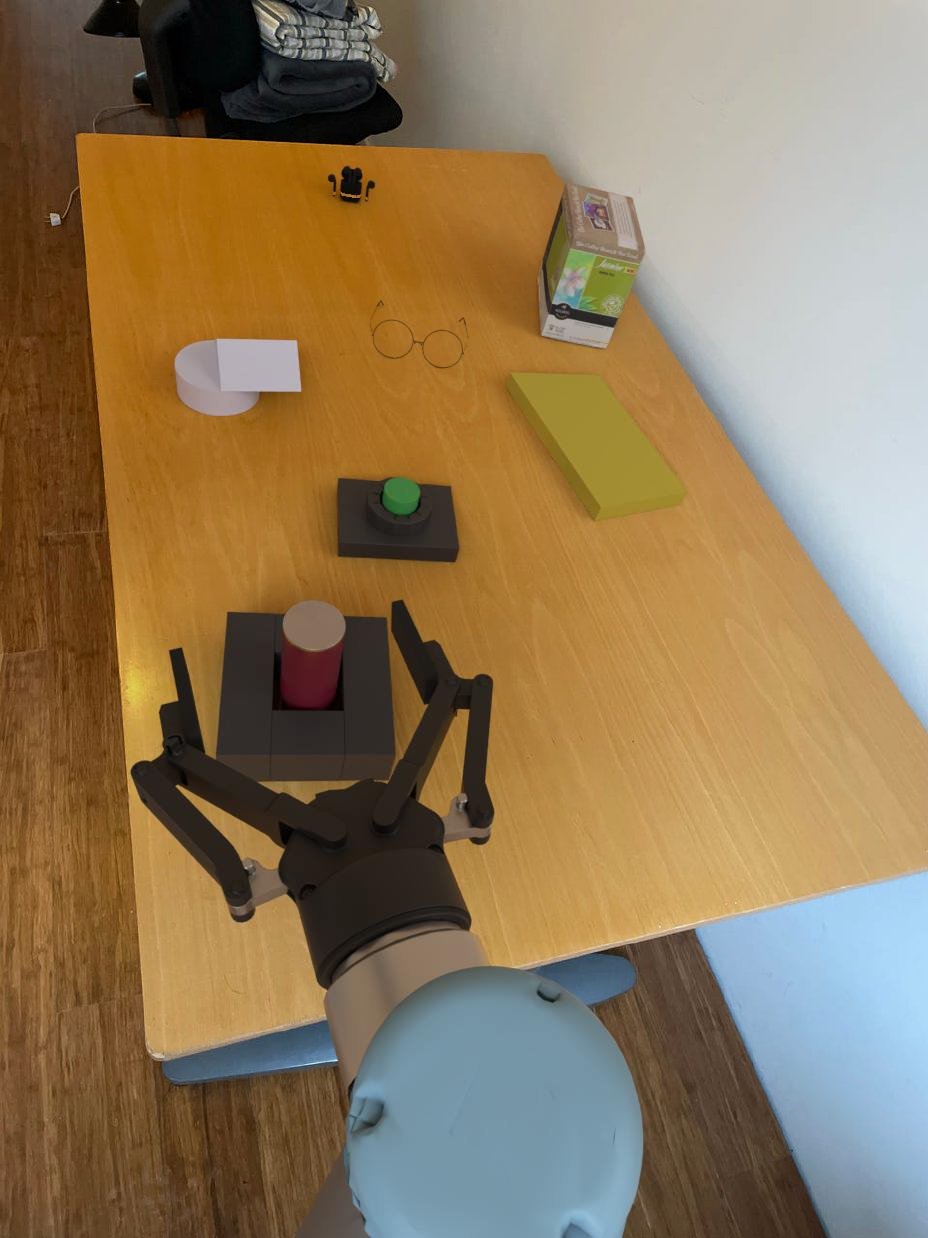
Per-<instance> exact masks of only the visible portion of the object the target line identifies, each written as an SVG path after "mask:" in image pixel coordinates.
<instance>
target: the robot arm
mask: <svg viewBox="0 0 928 1238" xmlns="http://www.w3.org/2000/svg"><path fill="white" fill-rule="evenodd" d="M390 603H391V606H390V607H391V609H390V611H391V613H390V614H391V617H390V624H391V625H390V631H391V634H392V636H393V639H394V641H395V643H396V646H397V647H398V650H399V652H400V654H401V656H402V659H403V661H404V663H405V666H406V668H407V670H408V673H409V674H410V677H411V679H412V682H413V684H414V686H415V688H416V690H417V692H418V695H419V697H420V699H421V701H422V703H423V705H424V706H426V705H427V706H426V708H425V709H424V712H423V714H422V717H421V718H420V721H419V723H418V725H417V727H416V729H415V731H414V733H413V735H412V737H411V740H410V741H409V744H408V746H407V747H406V750H405V752H404V754H403V756H402V758H399V760H398V761H397V763H396V765H395V767H394V769H393V772H392V774H391V775H390V777H389V780H388V782H384V781H378V780H374V779H373V778H369V779H366V780H358V781H357V782H355V783H354V784H351V785H350V786H348V787H345V788H339V789H337V788H336V789H335V788H334V789H327V790H324V791H320V792H317V793H314V799H312V800H310V801H309V802H308V803H305V802H304V801H301V800H299V798H296V797H295V796H292V795H290V794H289V793H287V792H285V791H280V792H279V793H278V792H276V791H274V790H272V789H271V788H269V787H267V786H266V785H263V784H262V783H261V782H256V781H254V780H252V779H250V778H249V777H247V776H245V775H243V774H241V773H239V772H238V771H236V770H234V769H232V768H230V767H228V766H227V765H225V764H223V763H221V762H219V761H217V760H216V758H214V757H212V756H210V755H209V754H207V753H206V748H205V744H204V739H203V734H202V730H201V725H200V720H199V715H198V710H197V706H196V701H195V695H194V690H193V686H192V682H191V681H192V680H191V677H190V672H189V669H188V665H187V661H186V657H185V653H184V649H183V646H182V647H175V648H172V649H168V654H169V658H170V664H171V669H172V674H173V675H172V676H173V680H174V685H175V690H176V691H175V692H176V695H177V696H176V697H177V700H175V701H171V702H167V703H161V704H160V708H159V711H158V716H159V723H160V728H161V734H162V743H161V745H162V749H163V751H162V752H161V754H159V756H157V757H156V758H153V759H152V760H146V759H143V760H139V761H137V762H135V763H134V764H133V765H132V766H131V768H130V772H129V773H130V777H131V779H132V782H133V784H134V787H135V790H136V792H137V795H138V797H139V799H140V801H141V803H142V805H144V806H145V807H146V808H147V809H148V810H149V812H150V813H151V814H152V815H153V816H154V817H155V818H156V819H157V820H158V821H159V822H160V823H161V824H162V826H164V828H166V830H167V831H168V832H169V833H170V834H171V835H172V836H173V838H175V839H176V840H177V842H178V843H180V846H182V847H183V848H184V849H185V850H186V851H187V852H188V854H190V855H191V857H192V858H193V859H194V860H195V861H196V863H198V864H199V865H200V866H201V867H202V868H203V869H204V870H205V872H206V873H207V874H208V875H209V876H210V877H211V878H212V879H213V880H214V882H216V883H217V884H218V885H219V887H220V888H221V891H222V894H223V897H224V900H225V903H226V906H227V909H228V912H229V915H230V917H231V919H232V920H233V921H234V922H236V923H242V924H243V923H247V922H248V921H250V920H252V918H253V917H254V916H255V915H256V911H257V910H256V908H257V907H259V906H261V905H263V904H266V903H268V902H270V901H273V900H275V899H278V898H280V897H282V896H284V895H286V896H287V897H288V898H290V899H291V900H292V901H293V903H294V905H295V906H296V908H297V910H298V914H299V918H300V922H301V926H302V929H303V933H304V938H305V941H306V944H307V948H308V952H309V953H308V954H309V956H310V960H311V964H312V968H313V972H314V976H315V979H316V982H317V984H318V985H319V986H320V987H321V988H322V989H324V990H326V992H325V994H324V997H323V1000H322V1004H323V1009H324V1013H325V1017H326V1021H327V1025H328V1028H329V1033H330V1037H331V1042H332V1044H333V1048H334V1052H335V1056H336V1061H337V1063H338V1067H339V1072H340V1075H341V1079H342V1084H343V1087H344V1091H345V1094H346V1096H347V1098H348V1102H349V1110H348V1113H347V1115H346V1118H345V1133H346V1137H345V1138H346V1141H345V1143H344V1144H343V1146H342V1148H341V1151H340V1152H339V1154H338V1156H337V1158H336V1160H335V1162H334V1164H333V1165H332V1167H331V1170H330V1171H329V1173H328V1174H327V1177H326V1178H325V1180H324V1182H323V1184H322V1186H321V1187H320V1189H319V1191H318V1193H317V1195H316V1197H315V1199H314V1200H313V1202H312V1204H311V1206H310V1209H309V1210H308V1212H307V1213H306V1215H305V1217H304V1219H303V1221H302V1223H301V1224H300V1226H299V1228H298V1230H297V1232H296V1234H295V1235H294V1238H623V1235H624V1231H625V1226H626V1223H627V1218H628V1217H629V1213H630V1211H631V1209H632V1207H633V1204H634V1201H635V1198H636V1197H637V1194H638V1193H637V1192H638V1188H639V1183H640V1178H641V1173H642V1166H643V1156H644V1128H643V1127H644V1126H643V1117H642V1115H643V1114H642V1110H641V1105H640V1101H639V1094H638V1092H637V1088H636V1085H635V1081H634V1079H633V1075H632V1073H631V1070H630V1067H629V1065H628V1063H627V1061H626V1059H625V1058H626V1057H625V1056H624V1054H623V1053H622V1051H621V1049H620V1047H619V1045H618V1043H617V1041H616V1040H615V1038H614V1036H612V1034H611V1032H610V1031H609V1030H608V1029H607V1027H606V1026H605V1025H604V1023H603V1022H602V1021H601V1020H600V1018H599V1017H598V1016H597V1015H596V1014H595V1013H594V1011H592V1010H591V1008H589V1007H588V1006H587V1004H585V1003H584V1002H583V1001H582V1000H580V999H579V998H578V997H577V996H576V995H575V994H573V993H571V992H570V991H569V990H568V989H566V988H564V987H563V986H562V985H560V984H559V983H557V982H556V981H554V980H552V979H549V978H546V977H544V976H541V975H539V974H536V973H534V972H530V971H528V970H524V969H520V968H515V967H508V966H501V965H500V966H499V965H492V964H491V963H490V960H489V957H488V955H487V952H486V949H485V947H484V944H483V942H482V940H481V938H480V936H479V935H477V934H475V933H474V932H471V930H470V929H471V927H472V923H473V922H472V921H473V920H472V916H471V914H470V911H469V908H468V906H467V904H466V901H465V898H464V896H463V894H462V891H461V889H460V886H459V883H458V881H457V879H456V877H455V873H454V871H453V869H452V866H451V863H450V861H449V859H448V856H447V853H446V852H445V845H444V844H447V843H452V842H457V841H462V840H466V839H468V840H469V841H470V843H472V844H473V845H476V846H483V845H486V844H487V843H488V842H489V841H490V838H491V836H492V835H491V834H492V828H493V822H494V818H495V808H494V804H493V801H492V797H491V795H490V792H489V789H488V785H487V782H486V779H487V778H486V776H487V766H488V752H489V738H490V729H491V717H492V703H493V692H494V679H493V678H492V676H490V675H488V674H487V673H486V674H485V673H479V674H477V675H475V676H474V677H473V678H464V677H461V676H459V675H458V674H456V673H455V671H454V670H453V667H452V665H451V663H450V661H449V659H448V656H447V655H446V653H445V652H444V649H443V647H442V645H441V643H439V642H438V641H437V640H436V639H431V640H427V641H423V639H422V637H421V634H420V633H419V631H418V628H417V626H416V624H415V621H414V620H413V618H412V615H411V614H410V612H409V610H408V607H407V605H406V603H405V601H404V599H398V600H393V601H391V602H390ZM459 710H469V711H468V719H467V727H466V728H467V729H466V738H465V749H464V758H463V767H462V768H463V769H462V775H461V784H460V785H461V787H460V793H459V794H458V795H457V796H454V797H453V798H452V799H451V801H450V805H449V812H448V813H447V814H446V815H444V816H440V815H439V814H438V813H437V812H435V811H434V810H432V809H431V808H429V807H428V806H426V805H424V804H423V803H421V802H419V801H420V797H421V794H422V791H423V789H424V786H425V785H426V781H427V779H428V777H429V775H430V773H431V770H432V768H433V766H434V764H435V761H436V759H437V757H438V755H439V752H440V750H441V748H442V745H443V743H444V741H445V739H446V737H447V734H448V732H449V731H450V728H451V725H452V723H453V721H454V719H455V718H457V717H458V712H459ZM177 786H179V787H181V788H183V789H184V790H186V791H188V792H190V793H191V794H193V795H195V796H196V797H199V798H201V800H204V801H205V802H207V803H209V804H211V805H213V806H214V807H215V808H218V809H219V810H221V811H223V812H225V813H227V814H229V815H230V816H232V817H234V818H235V819H237V820H239V821H241V822H242V823H245V824H246V825H248V826H250V827H251V828H253V829H255V830H257V831H258V832H260V833H262V834H264V835H265V836H267V837H268V838H269V839H270V840H271V841H272V843H274V844H275V845H276V846H278V847H279V848H281V849H283V852H282V854H281V857H280V859H279V862H278V866H277V868H273V869H268V868H265V867H263V866H262V864H261V863H260V862H259V861H258V860H256V859H252V858H251V857H245V858H244V859H241V857H240V855H239V852H238V851H237V850H236V847H234V845H233V844H232V843H231V842H230V840H229V839H228V838H227V837H226V836H225V835H224V834H223V833H222V831H220V830H219V829H218V828H217V827H216V826H215V825H214V824H213V823H212V822H211V821H210V820H209V819H208V818H207V817H206V816H205V815H204V814H203V812H201V810H200V809H198V808H197V806H195V804H194V803H192V801H191V800H190V799H189V798H188V797H187V796H186V795H185V794H184V793H183V792H182V791H181V789H179V788H178V787H177Z"/></svg>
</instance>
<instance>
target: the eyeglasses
mask: <svg viewBox="0 0 928 1238" xmlns="http://www.w3.org/2000/svg"><path fill="white" fill-rule="evenodd" d="M380 304H381V305H382V306H384V302H383V301H382V300H379V301H378V303H377V305H376V308H375V310H374V311H373V314H372V316H371V318H370V319H373V316H374V314H375V312H376V310H377V308H378V307H379V306H380ZM462 320H463V323H464V327H465V331H466V336H467V338H469V335H468V331H467V323H466V319H465V317H462V318H460V319H459V320H458V322H459V323H460V322H461V321H462ZM389 321H395V322H398V323H401V324H403V325H404V326H405V327H406V328H407V329H408V330H409V332H410V334H411V337H412V338H414V335H413V332H412V330H411V328H409V326H408V325H407V324H406V323H405V322H403V321H400V320H397V319H385V320H383V321H381V322H380V323H378V324H377V326H375V328H374V330H373V329H372V325H371V322H372V320H370V324H369V325H370V330H371V331H372V333H371V335H370V336H372V343H373V346H374V348H375V349H376V351H377V352H378V353H379V354H380V355H382V356H384V357H385V358H388V359H393V357H392V356H387V355H385V354H384V353H382V352H381V351H380V350H379V349H378V348H377V346H376V344H375V339H374V335H375V332H376V330H377V328H378V327H379V326H380V325H381V324H383V323H385V322H389ZM436 332H448V333H450V334H452V335H454V336H455V337H456V339H458V340H459V343H460V345H461V355H460V356H459V358H458V360H457V361H456V362H454V363H453V364H452V365H450V366H445V367H442V366H437V365H434V364H432V362H430V361H429V360H428V359H427V357H426V355H425V353H424V345H425V342H426V340H427V339H428V337H430V336H431V335H432V334H434V333H436ZM416 343H417V344H420V346H421V347H422V349H421V350H422V355H423V358H424V359H425V360H426V361H427V362H428V364H430V365H431V366H433V367H435V368H439V369H447V368H451V367H454V366H455V365H457V363H459V362H460V360H461V359H462V356H463V355H465V352H464V351H465V350H466V348H467V346H465V347H464V348H463V343H462V341H461V339H460V338H459V336H457V334H455V333H454V332H452V331H449V330H447V329H437V330H434V331H432V332H431V333H429V334H428V335H427V336H426V337H425V339H424V340H423V342H421V341H418V340H415V339H412V343H411V347H410V349H409V350H408V351H407V353H405V354H403V355H401V356H398V357H396V359H400V358H401V359H402V358H403V357H406V356H407V355H408V354H409V353H410V352H411V350H412V349H413V346H414V345H416ZM468 343H469V342H467V343H466V345H468Z"/></svg>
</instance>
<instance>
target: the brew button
mask: <svg viewBox="0 0 928 1238" xmlns="http://www.w3.org/2000/svg"><path fill="white" fill-rule="evenodd" d="M413 481H414V480H412V479H409V478H407V477H401V476H399V477H395V478H392V479H390V480H388V481H387V482H386V484H385V486H384V492H383V497H382V503H383V505H384V507H385V508H386V509H387V510H388V511H390V512H392V513H394V514H397V515H407V514H410V513H412V512H414V511H415V510H416V508H417V506H418V501H419V496H420V489H419V487H418V485H417V484H416V483H417V482H416V481H414V482H413ZM415 482H416V483H415Z"/></svg>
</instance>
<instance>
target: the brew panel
mask: <svg viewBox="0 0 928 1238" xmlns="http://www.w3.org/2000/svg"><path fill="white" fill-rule="evenodd" d="M392 478H396V477H393V476H389V477H386V478H384V479H383V478H382V479H380V480H373V479H361V478H359V479H358V478H346V477H345V478H344V477H338V478H337V485H336V492H335V493H336V494H335V495H336V531H337V532H336V533H337V557H339V558H356V559H357V558H359V559H377V560H379V559H380V560H400V561H417V562H418V561H420V562H437V563H439V562H440V563H456V562H457V559H458V555H459V552H460V543H459V542H460V541H459V534H458V528H457V527H458V526H457V521H456V513H455V506H454V505H455V504H454V499H453V498H454V497H453V492H452V485H443V484H429V483H419V482H416V481H414V480H412V481H413V482H415V483H416V484H417V485H418V487H419V489H420V496H419V501H418V506H417V508H416V510H415V511H414V512H412V513H410V514H407V515H397V514H394V513H392V512H390V511H388V510H387V509H386V508H385V507H384V505H383V503H382V497H383V492H384V486H385V484H386V482H387V481H388V480H390V479H392Z"/></svg>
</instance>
